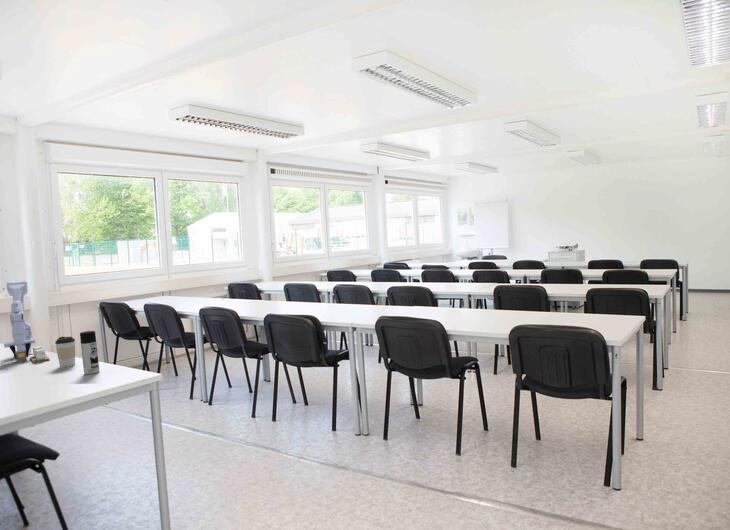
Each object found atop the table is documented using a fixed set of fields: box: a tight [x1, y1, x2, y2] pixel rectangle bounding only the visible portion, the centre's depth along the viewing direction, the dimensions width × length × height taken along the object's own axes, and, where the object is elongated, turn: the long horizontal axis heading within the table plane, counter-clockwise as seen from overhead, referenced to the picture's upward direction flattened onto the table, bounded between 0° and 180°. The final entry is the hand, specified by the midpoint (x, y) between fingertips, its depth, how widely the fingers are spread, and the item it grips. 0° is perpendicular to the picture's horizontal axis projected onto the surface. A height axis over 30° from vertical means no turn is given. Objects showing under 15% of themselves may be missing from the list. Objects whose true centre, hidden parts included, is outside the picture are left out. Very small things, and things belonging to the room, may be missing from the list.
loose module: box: [16, 350, 28, 363], centre depth 297 cm, size 5×4×6 cm
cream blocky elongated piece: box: [29, 345, 50, 364], centre depth 298 cm, size 17×8×6 cm, turn 37°
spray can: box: [79, 330, 100, 375], centre depth 255 cm, size 7×7×20 cm
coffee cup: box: [54, 336, 76, 368], centre depth 276 cm, size 9×9×15 cm
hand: (21, 357), depth 298 cm, fingers open, 5 cm apart
